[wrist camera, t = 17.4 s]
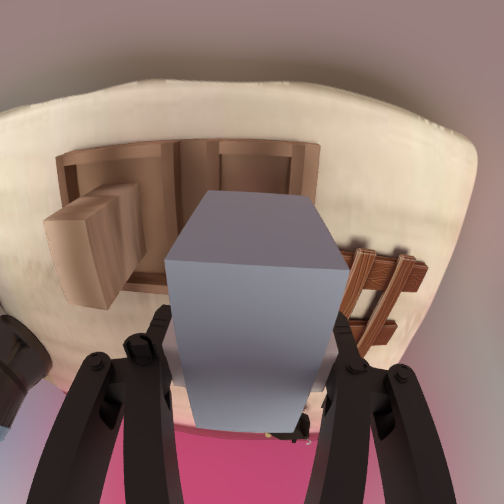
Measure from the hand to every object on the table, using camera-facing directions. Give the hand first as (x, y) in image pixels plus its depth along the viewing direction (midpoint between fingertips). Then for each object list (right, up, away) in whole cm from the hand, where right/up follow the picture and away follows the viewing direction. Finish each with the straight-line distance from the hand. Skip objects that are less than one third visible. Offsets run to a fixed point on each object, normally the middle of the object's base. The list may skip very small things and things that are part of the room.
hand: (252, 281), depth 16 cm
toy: (+6, -28, +27) cm, 40 cm away
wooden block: (-12, +5, +8) cm, 16 cm away
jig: (-7, +5, +9) cm, 13 cm away
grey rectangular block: (0, 0, 0) cm, 0 cm away
